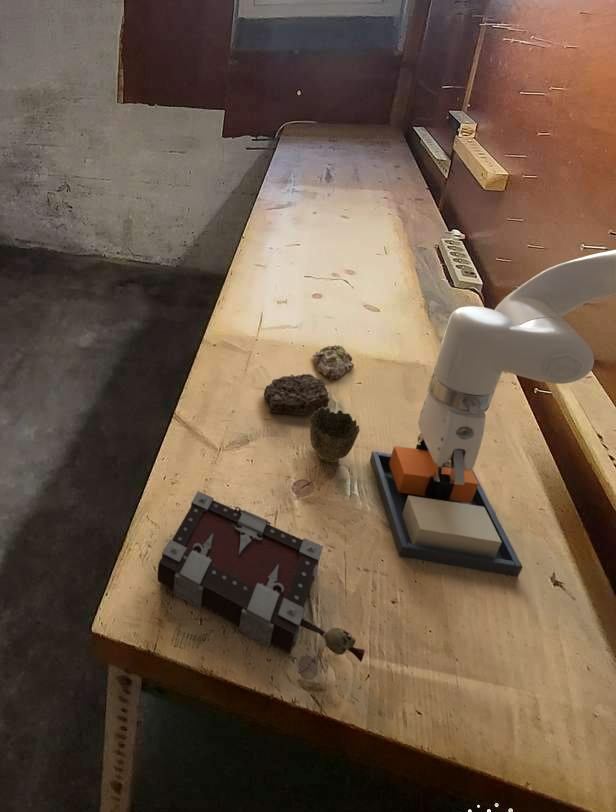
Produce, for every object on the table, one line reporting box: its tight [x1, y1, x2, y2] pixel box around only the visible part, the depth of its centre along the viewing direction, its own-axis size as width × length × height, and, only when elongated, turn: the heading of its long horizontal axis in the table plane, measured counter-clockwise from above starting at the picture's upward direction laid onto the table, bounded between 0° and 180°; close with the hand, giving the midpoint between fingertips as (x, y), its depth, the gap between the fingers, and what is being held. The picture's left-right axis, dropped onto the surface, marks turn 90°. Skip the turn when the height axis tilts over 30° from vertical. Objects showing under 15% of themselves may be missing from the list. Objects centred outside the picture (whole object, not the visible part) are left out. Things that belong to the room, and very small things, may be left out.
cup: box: [309, 407, 360, 464], centre depth 95 cm, size 8×7×8 cm
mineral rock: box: [312, 344, 355, 380], centre depth 119 cm, size 11×4×8 cm
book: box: [157, 490, 366, 663], centre depth 74 cm, size 15×25×5 cm, turn 56°
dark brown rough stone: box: [263, 373, 331, 416], centre depth 108 cm, size 12×10×5 cm
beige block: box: [402, 495, 502, 558], centre depth 80 cm, size 10×6×4 cm, turn 76°
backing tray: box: [369, 451, 523, 578], centre depth 85 cm, size 15×19×3 cm
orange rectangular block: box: [389, 445, 478, 503], centre depth 88 cm, size 10×6×4 cm, turn 76°
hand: (429, 480), depth 88 cm, fingers closed on orange rectangular block, 6 cm apart
